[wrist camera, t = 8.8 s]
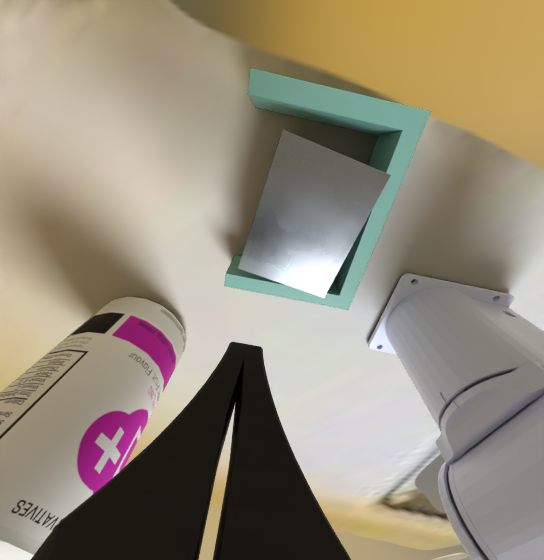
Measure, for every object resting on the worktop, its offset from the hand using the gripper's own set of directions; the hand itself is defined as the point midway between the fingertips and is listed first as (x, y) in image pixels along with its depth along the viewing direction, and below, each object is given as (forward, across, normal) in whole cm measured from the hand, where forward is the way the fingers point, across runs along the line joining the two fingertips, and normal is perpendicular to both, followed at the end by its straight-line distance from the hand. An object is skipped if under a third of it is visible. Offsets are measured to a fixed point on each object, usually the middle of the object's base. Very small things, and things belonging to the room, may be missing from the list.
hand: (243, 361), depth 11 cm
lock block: (+11, -2, -5) cm, 12 cm away
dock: (+10, -2, -6) cm, 12 cm away
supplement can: (+11, +10, +9) cm, 17 cm away
